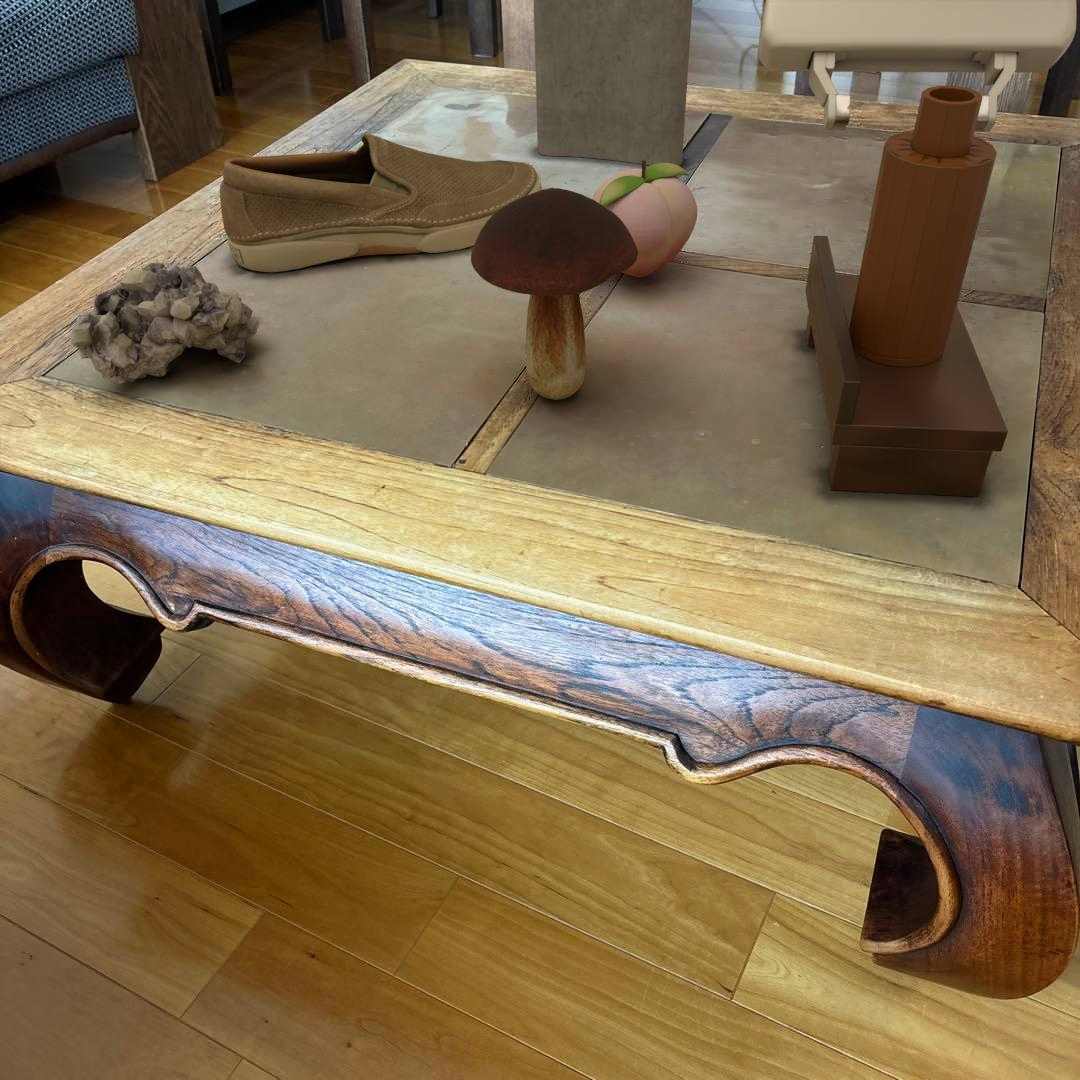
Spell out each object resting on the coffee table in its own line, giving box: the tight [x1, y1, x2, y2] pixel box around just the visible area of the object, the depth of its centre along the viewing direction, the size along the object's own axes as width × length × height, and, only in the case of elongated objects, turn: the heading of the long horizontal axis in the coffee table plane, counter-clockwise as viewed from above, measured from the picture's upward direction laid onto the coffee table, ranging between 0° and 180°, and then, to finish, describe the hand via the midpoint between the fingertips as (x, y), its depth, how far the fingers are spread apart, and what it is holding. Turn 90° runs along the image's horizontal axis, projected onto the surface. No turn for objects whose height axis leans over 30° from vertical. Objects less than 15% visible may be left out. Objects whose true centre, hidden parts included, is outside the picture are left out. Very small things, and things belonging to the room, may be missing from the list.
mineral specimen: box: [69, 261, 263, 384], centre depth 76 cm, size 12×9×10 cm
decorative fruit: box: [591, 160, 698, 278], centre depth 85 cm, size 9×8×10 cm
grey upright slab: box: [533, 0, 693, 167], centre depth 103 cm, size 16×4×20 cm, turn 70°
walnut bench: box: [804, 235, 1009, 498], centre depth 69 cm, size 10×20×8 cm, turn 174°
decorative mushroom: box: [470, 187, 638, 401], centre depth 69 cm, size 11×11×15 cm
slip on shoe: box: [219, 133, 543, 273], centre depth 93 cm, size 30×11×9 cm, turn 106°
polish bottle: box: [849, 85, 998, 367], centre depth 63 cm, size 6×6×16 cm
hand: (908, 127), depth 69 cm, fingers open, 8 cm apart
